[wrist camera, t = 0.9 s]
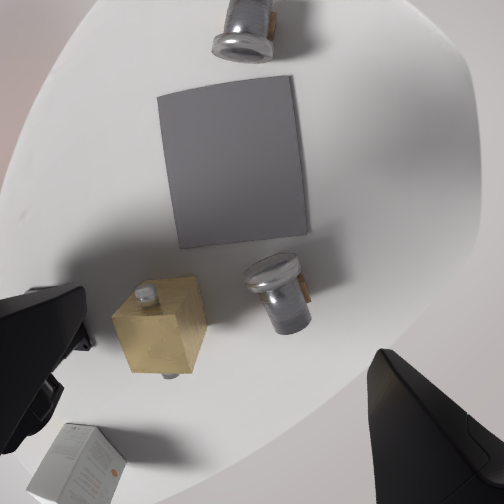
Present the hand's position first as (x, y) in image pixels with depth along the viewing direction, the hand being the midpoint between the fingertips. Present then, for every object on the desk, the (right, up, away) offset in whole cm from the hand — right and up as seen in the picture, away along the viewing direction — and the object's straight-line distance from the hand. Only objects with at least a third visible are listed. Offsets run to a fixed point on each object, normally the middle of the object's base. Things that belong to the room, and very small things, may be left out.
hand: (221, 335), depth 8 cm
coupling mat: (-1, +8, +12) cm, 14 cm away
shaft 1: (+1, +17, +9) cm, 19 cm away
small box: (-20, -24, +23) cm, 39 cm away
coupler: (-5, -2, +15) cm, 16 cm away
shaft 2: (+3, 0, +14) cm, 14 cm away
